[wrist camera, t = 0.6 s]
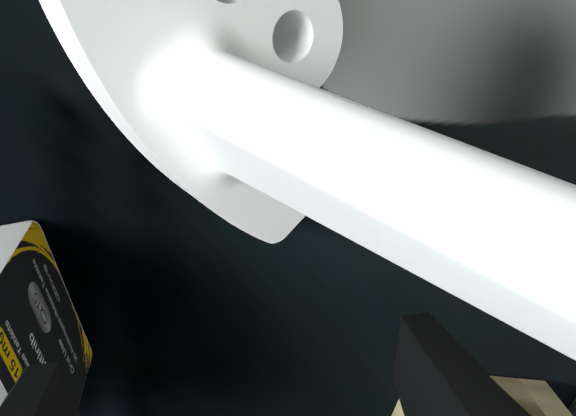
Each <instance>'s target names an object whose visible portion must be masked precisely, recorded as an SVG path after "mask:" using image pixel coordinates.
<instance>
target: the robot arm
mask: <svg viewBox="0 0 576 416" xmlns="http://www.w3.org/2000/svg"><path fill="white" fill-rule="evenodd" d="M393 378H394V382H395V386H396V389H397V393H398V396H399V400H400V403H401V406H402V410H403V413H404V416H532V415H530V414H529V413H528V412H527V411H526V410H525V409H524V408H523V407H522V406H521V405H519V404H518V403H517V402H516V401H515V400H514V399H513V398H512V397H511V396H510V395H509V394H508V393H507V392H506V391H505V390H504V389H503V388H502V387H500V386H499V385H498V384H497V383H496V382H495V381H494V380H493V379H492V378H491V377H490V376H489V375H488V374H487V373H486V372H485V371H484V370H483V369H482V368H481V367H480V366H479V365H478V364H477V363H476V362H475V361H474V360H473V359H472V358H471V357H470V356H469V355H468V354H467V353H466V352H465V351H464V349H463V348H462V347H461V346H460V345H459V344H458V343H457V342H456V341H455V340H454V339H453V338H452V337H451V336H450V335H449V334H448V333H447V331H446V330H445V329H444V328H443V327H442V326H441V325H440V324H439V323H438V322H437V321H436V320H435V318H434V317H433V316H432V315H431V314H429V313H428V312H426V313H419V314H411V315H404V316H401V319H400V326H399V334H398V342H397V350H396V357H395V365H394V373H393ZM0 416H81V414H80V411H79V409H78V406H77V404H76V402H75V399H74V397H73V394H72V392H71V390H70V387H69V385H68V382H67V380H66V378H65V375H64V373H63V370H62V368H61V366H60V363H59V362H53V363H46V364H39V365H31V366H27V368H26V369H25V370H24V371H23V372H22V374H21V375H20V377H19V378H18V380H17V381H16V383H15V384H14V386H13V387H12V389H11V390H10V392H9V393H8V395H7V396H6V398H5V399H4V401H3V402H2V404H1V405H0Z"/></svg>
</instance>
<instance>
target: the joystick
mask: <svg viewBox="0 0 576 416" xmlns="http://www.w3.org/2000/svg"><path fill="white" fill-rule="evenodd" d="M39 2H40V4H41V6H42V8H43V10H44V12H45V15H46V17H47V19H48V21H49V23H50V24H51V26H52V28H53V30H54V32H55V34H56V36H57V38H58V40H59V41H60V43H61V45H62V47H63V49H64V50H65V52H66V54H67V56H68V57H69V59H70V61H71V62H72V64H73V66H74V67H75V69H76V70H77V72H78V74H79V75H80V77H81V78H82V80H83V81H84V83H85V84H86V86H87V87H88V89H89V90H90V92H91V93H92V94H93V96H94V97H95V99H96V100H97V101H98V103H99V104H100V106H101V107H102V108H103V110H104V111H105V112H106V114H107V115H108V116H109V117H110V118H111V120H112V121H113V122H114V123H115V125H116V126H117V127H118V128H119V129H120V131H121V132H122V133H123V134H124V135H125V136H126V138H127V139H128V140H129V141H130V142H131V143H132V144H133V145H134V146H135V147H136V148H137V149H138V150H139V151H140V152H141V153H142V154H143V155H144V156H145V157H146V158H147V159H148V160H149V161H150V162H151V163H152V164H153V165H154V166H155V167H156V168H157V169H159V170H160V171H161V172H162V173H163V174H164V175H166V176H167V177H168V178H169V179H170V180H172V181H173V182H174V183H175V184H177V185H178V186H179V187H181V188H182V189H183V190H185V191H186V192H187V193H189V194H190V195H192V196H193V197H194V198H196V199H197V200H198V201H200V202H201V203H202V204H204V205H205V206H206V207H208V208H209V209H210V210H212V211H213V212H214V213H216V214H217V215H219V216H220V217H222V218H223V219H225V220H226V221H228V222H229V223H231V224H232V225H234V226H236V227H237V228H239V229H241V230H243V231H245V232H246V233H248V234H250V235H252V236H254V237H256V238H258V239H261V240H263V241H265V242H268V243H277V242H280V241H281V240H283V239H284V238H285V237H286V236H287V235H288V234H289V233H290V232H291V231H292V230H293V228H294V227H295V226H296V225H297V224H298V223H299V222H300V221H301V220H302V219H303V218H304V217H305V216H307V217H309V218H311V219H313V220H315V221H316V222H318V223H320V224H322V225H324V226H326V227H328V228H330V229H331V230H333V231H335V232H337V233H339V234H341V235H343V236H344V237H346V238H348V239H350V240H352V241H354V242H356V243H357V244H359V245H361V246H363V247H365V248H367V249H369V250H370V251H372V252H374V253H376V254H378V255H380V256H382V257H384V258H385V259H387V260H389V261H391V262H393V263H395V264H397V265H398V266H400V267H402V268H404V269H406V270H408V271H410V272H411V273H413V274H415V275H417V276H419V277H421V278H423V279H425V280H426V281H428V282H430V283H432V284H434V285H436V286H438V287H439V288H441V289H443V290H445V291H447V292H449V293H451V294H452V295H454V296H456V297H458V298H460V299H462V300H464V301H466V302H467V303H469V304H471V305H473V306H475V307H477V308H479V309H480V310H482V311H484V312H486V313H488V314H490V315H492V316H493V317H495V318H497V319H499V320H501V321H503V322H505V323H507V324H508V325H510V326H512V327H514V328H516V329H518V330H520V331H521V332H523V333H525V334H527V335H529V336H531V337H533V338H534V339H536V340H538V341H540V342H542V343H544V344H546V345H547V346H549V347H551V348H553V349H555V350H557V351H559V352H561V353H562V354H564V355H566V356H568V357H570V358H572V359H574V360H575V361H576V185H574V184H571V183H569V182H566V181H563V180H561V179H558V178H555V177H553V176H550V175H548V174H545V173H542V172H540V171H537V170H534V169H532V168H529V167H526V166H524V165H521V164H519V163H516V162H513V161H511V160H508V159H505V158H503V157H500V156H497V155H495V154H492V153H490V152H487V151H484V150H482V149H479V148H476V147H474V146H471V145H468V144H466V143H463V142H461V141H458V140H455V139H453V138H450V137H447V136H445V135H442V134H439V133H437V132H434V131H432V130H429V129H426V128H424V127H421V126H418V125H416V124H413V123H410V122H408V121H405V120H403V119H400V118H397V117H395V116H392V115H389V114H387V113H384V112H381V111H379V110H376V109H374V108H371V107H368V106H365V105H363V104H360V103H358V102H355V101H352V100H350V99H347V98H345V97H342V96H339V95H337V94H334V93H331V92H329V91H326V90H323V89H321V88H320V87H321V86H322V84H323V83H324V82H325V81H326V80H327V78H328V77H329V75H330V74H331V72H332V70H333V68H334V66H335V64H336V61H337V59H338V56H339V53H340V49H341V45H342V38H343V19H342V11H341V7H340V3H339V0H39Z"/></svg>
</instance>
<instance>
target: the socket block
mask: <svg viewBox="0 0 576 416" xmlns="http://www.w3.org/2000/svg"><path fill="white" fill-rule="evenodd" d="M568 410H569V412H570V413H571V414H572V415H573V416H576V397H575V399H574V400H573V402H572V404H571V405H570V407H569V408H568Z"/></svg>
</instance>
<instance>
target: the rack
mask: <svg viewBox="0 0 576 416" xmlns="http://www.w3.org/2000/svg"><path fill="white" fill-rule="evenodd" d="M490 377H491V378H492V379H493V380H494V381H495V382H496V383H497V384H498V385H499V386H500V387H502V388H503V389H504V390H505V391H506V392H507V393H508V394H509V395H510V396H511V397H512V398H513V399H514V400H515V401H516V402H517V403H518V404H519V405H521V406H522V407H523V408H524V409H525V410H526V411H527V412H528V413H529V414H530V415H532V416H573V415H572V414H571V413H570V412H569V410H568V409H567V408H566V407H565V405H564V404H563V403H562V402H561V400H560V399H559V398H558V396H557V395H556V394H555V393H554V391H553V390H552V389H551V388H550V386H549V385H548V384H547V383H546V381H541V380H530V379H520V378H510V377H499V376H490ZM392 416H404V413H403V410H402V406H401V403H400V400H398V402H397V404H396V406H395V409H394V411H393V413H392Z"/></svg>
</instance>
